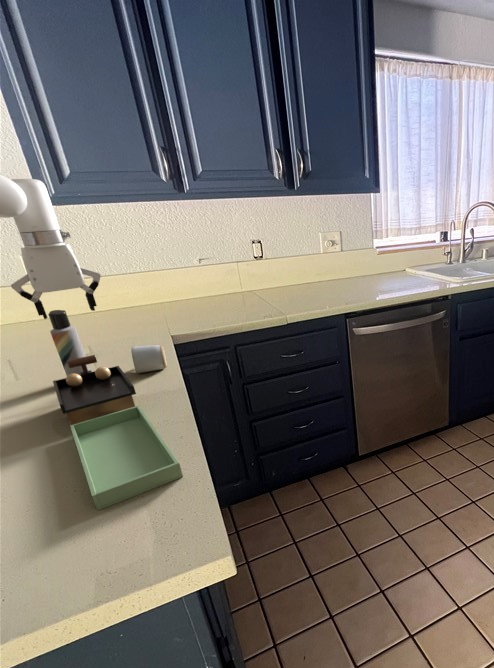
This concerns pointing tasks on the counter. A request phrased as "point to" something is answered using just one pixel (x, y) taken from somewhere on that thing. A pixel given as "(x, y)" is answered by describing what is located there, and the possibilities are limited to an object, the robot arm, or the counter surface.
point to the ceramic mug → (149, 358)
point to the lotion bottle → (66, 341)
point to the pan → (92, 387)
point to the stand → (100, 410)
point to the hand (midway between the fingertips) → (69, 313)
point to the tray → (123, 456)
